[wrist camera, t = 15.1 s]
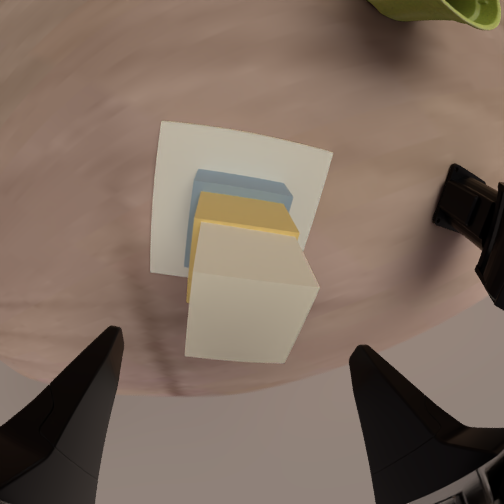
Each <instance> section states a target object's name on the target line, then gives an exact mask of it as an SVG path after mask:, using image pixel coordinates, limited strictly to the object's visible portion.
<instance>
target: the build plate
mask: <svg viewBox="0 0 504 504" xmlns="http://www.w3.org/2000/svg"><path fill="white" fill-rule="evenodd" d="M332 156H333V153H332V152H330V151H327V150H324V149H320V148H316V147H313V146H309V145H305V144H301V143H297V142H293V141H289V140H284V139H280V138H275V137H271V136H266V135H261V134H256V133H251V132H245V131H240V130H234V129H228V128H222V127H215V126H208V125H200V124H192V123H184V122H174V121H162V122H161V128H160V135H159V143H158V151H157V159H156V169H155V179H154V191H153V205H152V222H151V252H150V272H152V273H159V274H166V275H173V276H181V277H188V273H189V268H187V267H184V260H185V249H186V239H187V230H188V221H189V212H190V204H191V196H192V189H193V182H194V178H195V176H196V173H197V171H198V169H204V170H211V171H217V172H224V173H230V174H237V175H243V176H248V177H254V178H260V179H265V180H271V181H276V182H281V183H284V184H285V186H286V187H287V188H288V190H289V191H290V193H291V194H292V195H293V200H292V204H291V207H290V211H289V214H290V216H291V218H292V220H293V222H294V223H295V225H296V227H297V229H298V231H299V233H300V234H299V237H298V243H299V245H300V247H301V249H302V251H303V250H304V247H305V244H306V241H307V238H308V235H309V232H310V229H311V226H312V223H313V220H314V216H315V213H316V210H317V207H318V204H319V200H320V197H321V194H322V190H323V187H324V184H325V180H326V177H327V173H328V170H329V166H330V163H331V159H332Z"/></svg>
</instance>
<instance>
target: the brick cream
mask: <svg viewBox="0 0 504 504" xmlns="http://www.w3.org/2000/svg"><path fill="white" fill-rule="evenodd" d="M319 289H320V287H319V285H318V282H317V280H316V278H315V276H314V274H313V272H312V270H311V268H310V266H309V264H308V261H307V259H306V257H305V255H304V253H303V251H302V249H301V247H300V245H299V243H298V241H297V239H296V237H294V236H288V235H282V234H276V233H270V232H264V231H258V230H252V229H245V228H239V227H233V226H226V225H220V224H213V223H207V222H201V225H200V231H199V237H198V243H197V249H196V255H195V261H194V268H193V275H192V283H191V292H190V301H189V311H188V321H187V332H186V344H185V356H187V357H196V358H204V359H214V360H225V361H238V362H254V363H279V364H284V363H285V361H286V359H287V357H288V355H289V353H290V351H291V349H292V347H293V345H294V343H295V341H296V339H297V337H298V335H299V333H300V330H301V328H302V326H303V324H304V322H305V320H306V318H307V315H308V313H309V311H310V309H311V307H312V304H313V302H314V300H315V298H316V295H317V293H318V291H319Z"/></svg>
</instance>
